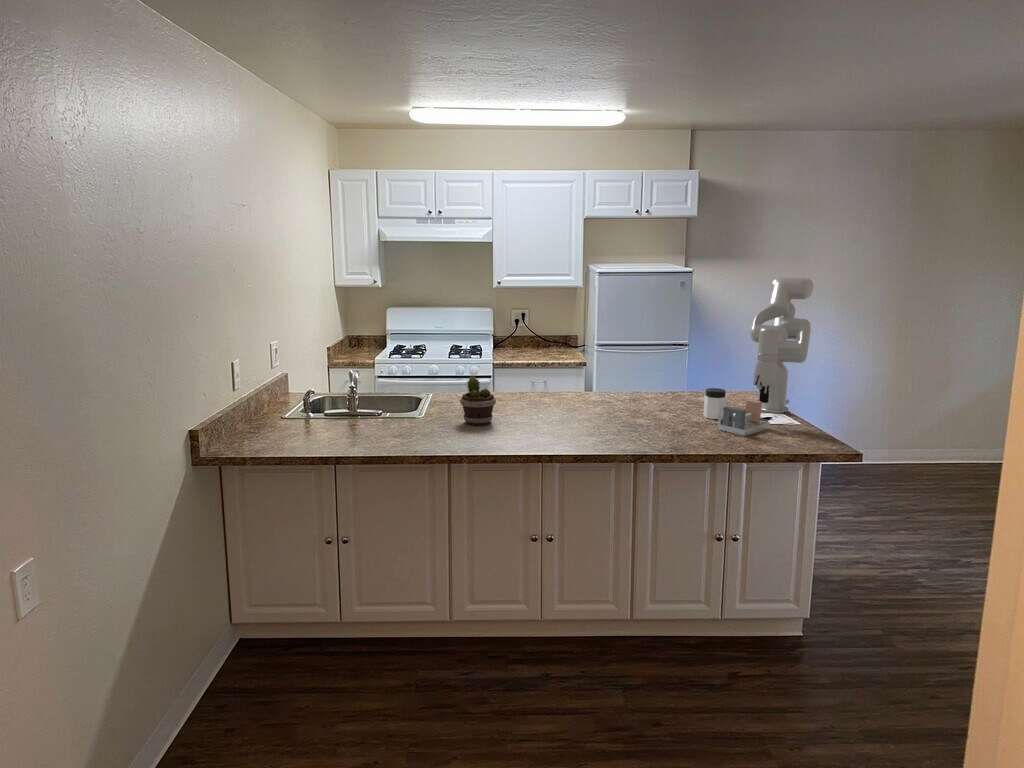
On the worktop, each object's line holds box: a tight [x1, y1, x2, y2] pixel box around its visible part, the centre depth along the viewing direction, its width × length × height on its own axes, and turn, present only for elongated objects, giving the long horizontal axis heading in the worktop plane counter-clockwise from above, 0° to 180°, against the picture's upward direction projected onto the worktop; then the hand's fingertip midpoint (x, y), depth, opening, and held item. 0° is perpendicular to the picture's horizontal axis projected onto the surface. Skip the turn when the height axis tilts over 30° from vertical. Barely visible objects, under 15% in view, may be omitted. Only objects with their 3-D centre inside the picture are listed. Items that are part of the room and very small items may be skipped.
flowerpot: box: [459, 373, 497, 426], centre depth 296 cm, size 14×15×20 cm
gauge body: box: [717, 405, 771, 437], centre depth 289 cm, size 18×12×10 cm, turn 130°
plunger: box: [734, 399, 770, 422], centre depth 288 cm, size 15×8×8 cm, turn 130°
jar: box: [702, 387, 727, 421], centre depth 307 cm, size 9×8×12 cm
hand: (763, 402), depth 296 cm, fingers closed
